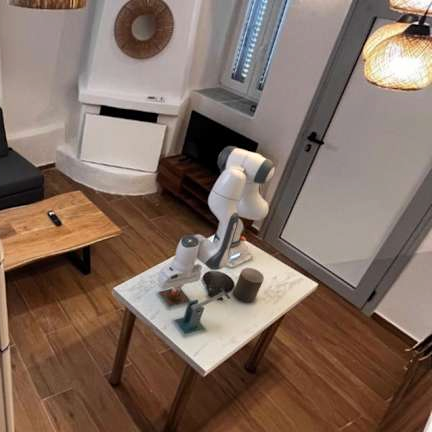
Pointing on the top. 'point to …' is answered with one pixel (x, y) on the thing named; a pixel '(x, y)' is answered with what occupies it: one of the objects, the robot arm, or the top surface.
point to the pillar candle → (248, 285)
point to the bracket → (191, 319)
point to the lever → (210, 299)
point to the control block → (171, 299)
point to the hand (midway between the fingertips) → (176, 290)
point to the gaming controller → (214, 290)
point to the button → (175, 293)
